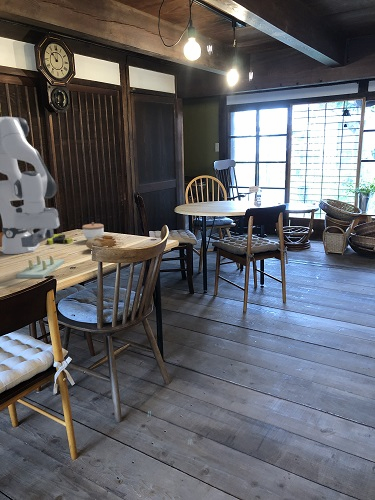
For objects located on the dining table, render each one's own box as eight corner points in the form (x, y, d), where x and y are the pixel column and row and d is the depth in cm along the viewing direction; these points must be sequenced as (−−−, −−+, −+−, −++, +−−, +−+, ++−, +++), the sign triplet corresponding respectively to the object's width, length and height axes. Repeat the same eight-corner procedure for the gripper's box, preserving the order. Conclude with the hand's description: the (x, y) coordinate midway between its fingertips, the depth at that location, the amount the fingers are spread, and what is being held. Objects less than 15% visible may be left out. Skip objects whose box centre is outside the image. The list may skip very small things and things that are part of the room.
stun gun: (77, 233, 257) (53, 234, 256) (70, 239, 238) (44, 240, 237) (77, 237, 257) (53, 238, 257) (70, 244, 239) (45, 245, 238)
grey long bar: (43, 236, 195) (42, 228, 194) (53, 236, 195) (53, 228, 194) (22, 247, 175) (21, 238, 174) (33, 247, 174) (32, 237, 173)
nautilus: (127, 246, 231) (123, 254, 217) (89, 245, 231) (83, 253, 216) (127, 233, 229) (123, 240, 215) (89, 231, 228) (82, 238, 214)
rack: (41, 262, 200) (40, 251, 199) (64, 262, 199) (63, 251, 198) (17, 277, 177) (15, 265, 176) (43, 277, 176) (41, 265, 175)
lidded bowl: (107, 237, 252) (105, 220, 249) (101, 242, 240) (99, 224, 237) (87, 237, 253) (86, 220, 251) (80, 242, 241) (78, 224, 238)
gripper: (60, 206, 183) (63, 236, 187) (17, 207, 185) (20, 236, 189) (54, 208, 177) (57, 239, 180) (10, 209, 179) (14, 239, 182)
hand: (38, 238), depth 185 cm, fingers closed on grey long bar, 3 cm apart
